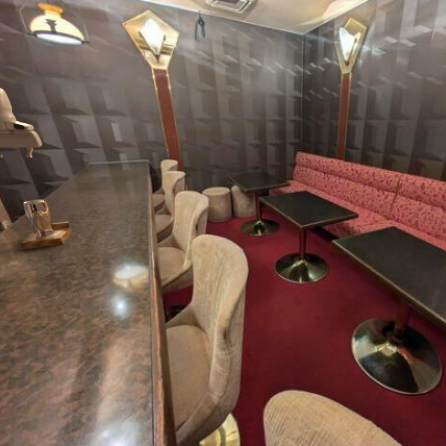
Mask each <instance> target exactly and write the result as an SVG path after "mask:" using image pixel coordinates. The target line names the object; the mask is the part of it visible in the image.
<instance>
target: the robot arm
mask: <svg viewBox="0 0 446 446" xmlns="http://www.w3.org/2000/svg"><path fill="white" fill-rule="evenodd" d="M34 129H35V128H34V126H33V125H32V124H29V123H24V122H20V121H18V120H17V118H16V116H15V115H14V113H13V107H12V104H11V101H10V99H9V97H8V95H7V93H6V91H5V90H4V89H3V88H2V87H0V148H26V150H27V153H25V157H26V159H28V158H29V159H31V158H32V159H33V155H32V153H33V151H34V148H41V147H42V146H43V142H42V140H41V137H40V136H39V134H38V133H37V132H36V131H35V130H34ZM3 158H4V155H3V153H0V159H3Z"/></svg>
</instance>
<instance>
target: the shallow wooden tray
mask: <svg viewBox="0 0 446 446" xmlns="http://www.w3.org/2000/svg"><path fill="white" fill-rule="evenodd" d="M51 224H52V228H53V229H54V231H55V234H54V235H52V236H49V237H43V238H38V237H36V233H35V229H34V226H33V225H32V229H33V232H32V233H31V234H30V235H29V236H28V237H26V238H25V239H24V240H23V241H22V242H21V245H22V247H23V250H31V249H37V248H45V247H54V246H60V245H64V244H65V243H66V242H67V240H68V238H69V237H70V236H71V234H72V233H73V232H72V229H71V224H70V222H69V221H62V222H54V223H52V222H51Z"/></svg>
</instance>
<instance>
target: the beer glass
mask: <svg viewBox="0 0 446 446" xmlns="http://www.w3.org/2000/svg"><path fill="white" fill-rule="evenodd" d="M22 205H23V209H24V212H25V216H26V217H27V218H28V220H29V222H30V223H31V225H32V227H33V226H34V229H35V233H36V237H38V238H43V237H49V236H52V235H54V234H55V231H54V229H53V228H52V215H51V211H50V210H51V209H50V208H49V205H48V203H47V200H46V199H31V200H25V201H23V202H22ZM34 229H33V230H34Z"/></svg>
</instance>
